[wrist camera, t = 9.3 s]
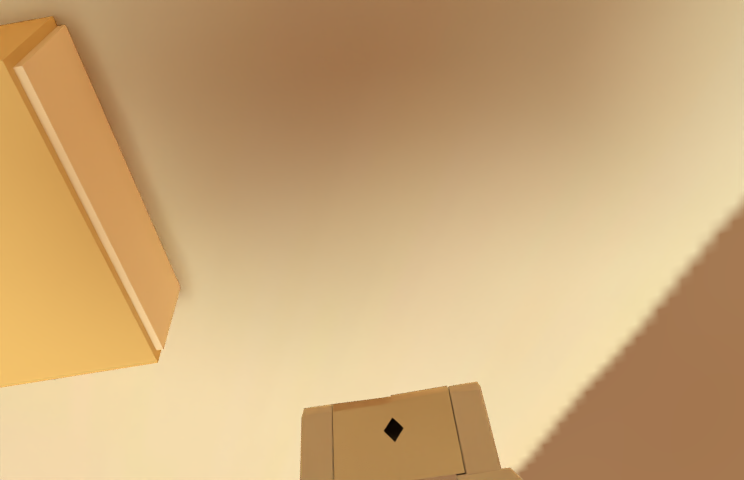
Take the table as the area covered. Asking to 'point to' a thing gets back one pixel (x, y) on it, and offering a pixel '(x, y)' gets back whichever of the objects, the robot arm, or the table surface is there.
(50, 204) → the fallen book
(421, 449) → the robot arm
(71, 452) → the table surface
